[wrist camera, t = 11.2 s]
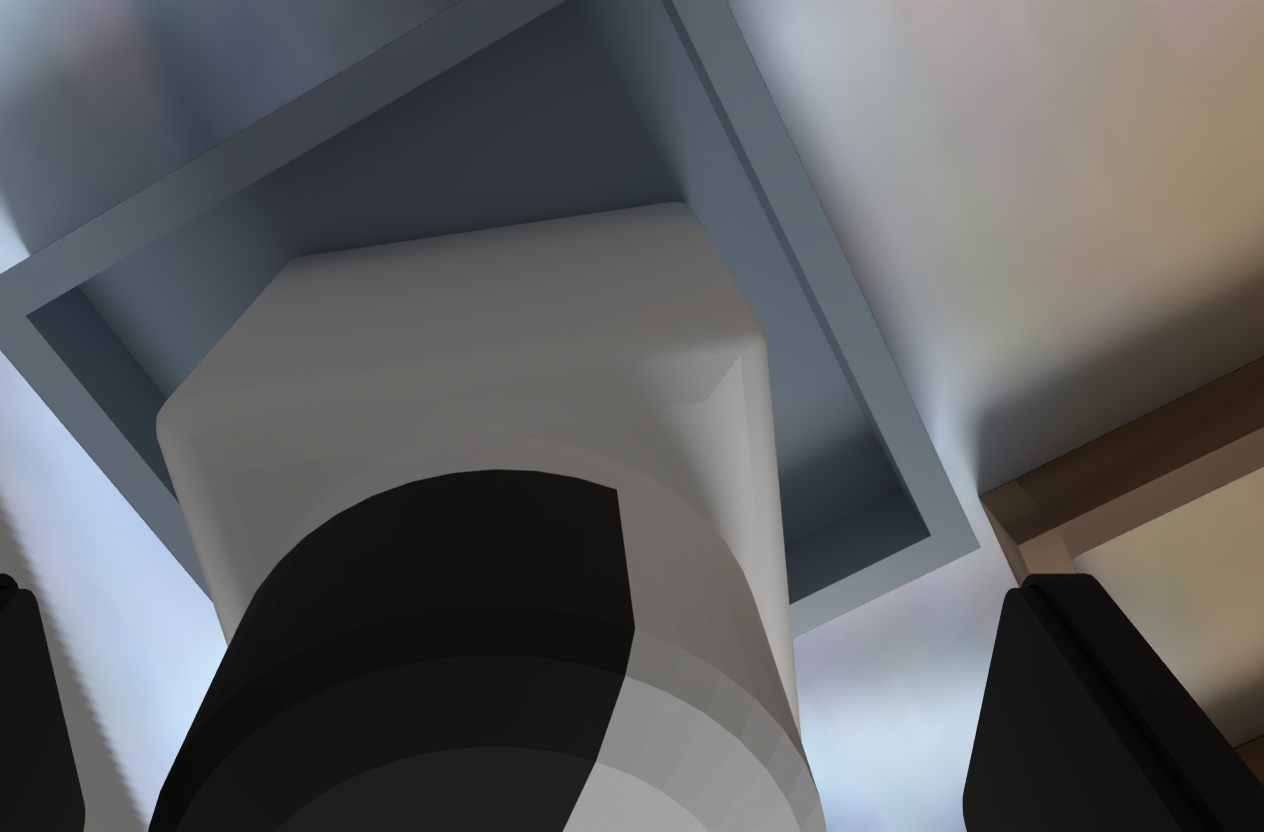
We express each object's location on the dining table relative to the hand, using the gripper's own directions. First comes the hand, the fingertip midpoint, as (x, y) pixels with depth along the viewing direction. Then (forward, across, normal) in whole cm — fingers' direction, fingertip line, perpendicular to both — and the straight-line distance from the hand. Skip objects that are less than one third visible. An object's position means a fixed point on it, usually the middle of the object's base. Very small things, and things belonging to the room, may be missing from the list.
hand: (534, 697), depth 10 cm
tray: (+10, +1, +1) cm, 10 cm away
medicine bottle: (+10, 0, +1) cm, 10 cm away
